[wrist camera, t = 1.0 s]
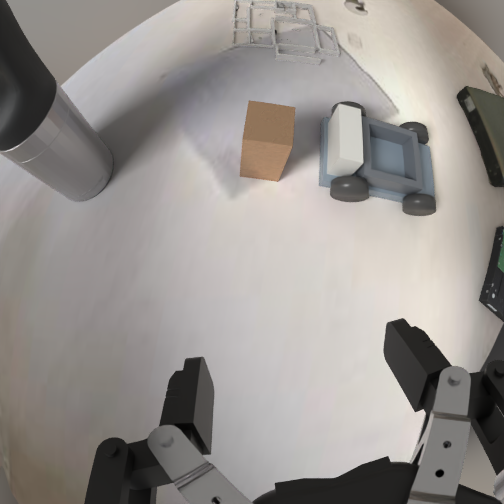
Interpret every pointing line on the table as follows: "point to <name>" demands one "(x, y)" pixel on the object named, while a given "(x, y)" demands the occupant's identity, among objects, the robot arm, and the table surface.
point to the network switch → (486, 128)
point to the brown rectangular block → (266, 140)
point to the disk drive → (495, 278)
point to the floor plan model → (280, 46)
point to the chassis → (376, 160)
